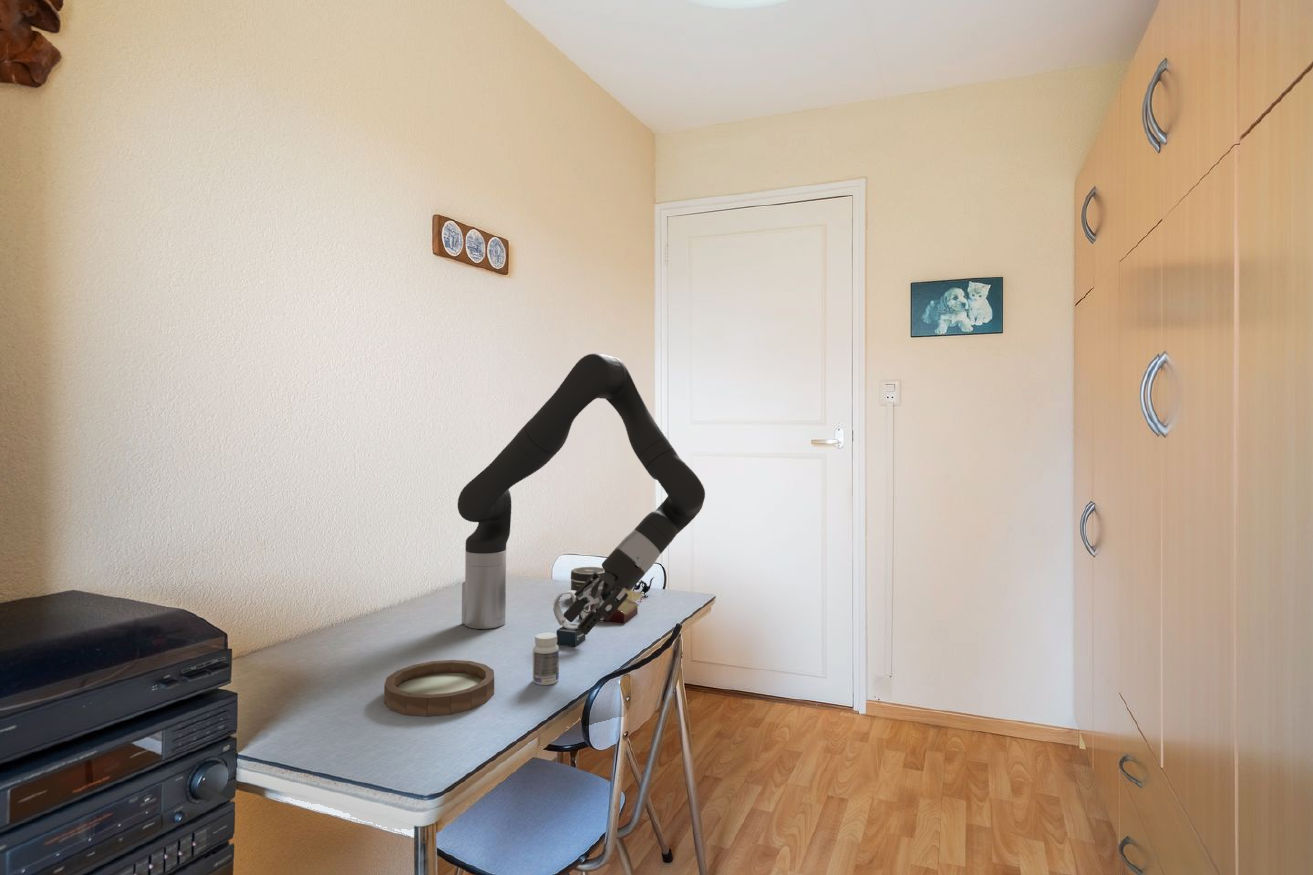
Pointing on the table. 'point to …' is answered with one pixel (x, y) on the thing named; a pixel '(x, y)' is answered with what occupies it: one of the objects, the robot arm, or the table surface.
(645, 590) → the creature
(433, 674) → the ring tray
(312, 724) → the table surface
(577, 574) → the jar
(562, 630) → the watch
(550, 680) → the pill bottle
